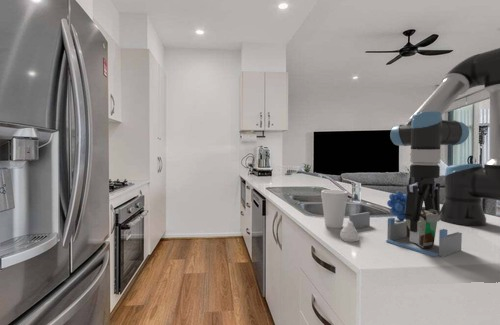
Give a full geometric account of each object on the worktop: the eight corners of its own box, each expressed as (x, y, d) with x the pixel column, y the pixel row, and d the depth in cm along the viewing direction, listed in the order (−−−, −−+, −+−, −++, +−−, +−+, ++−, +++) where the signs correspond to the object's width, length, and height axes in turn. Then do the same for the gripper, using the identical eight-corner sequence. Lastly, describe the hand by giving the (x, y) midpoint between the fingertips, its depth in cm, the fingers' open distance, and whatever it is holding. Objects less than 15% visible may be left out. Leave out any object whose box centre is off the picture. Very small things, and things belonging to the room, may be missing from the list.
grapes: (382, 219, 114) (382, 190, 114) (389, 217, 119) (390, 189, 118) (412, 225, 105) (413, 194, 105) (419, 222, 109) (420, 192, 109)
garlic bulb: (362, 222, 86) (346, 223, 85) (361, 241, 86) (346, 243, 85) (351, 218, 91) (337, 219, 90) (351, 236, 91) (336, 237, 90)
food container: (449, 250, 77) (450, 215, 76) (426, 250, 77) (427, 215, 77) (423, 235, 89) (424, 204, 89) (404, 235, 90) (405, 204, 89)
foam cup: (321, 228, 101) (321, 192, 101) (320, 221, 110) (321, 189, 110) (348, 229, 99) (349, 193, 98) (345, 223, 108) (346, 190, 107)
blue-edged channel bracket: (367, 225, 106) (367, 206, 105) (461, 250, 79) (462, 226, 78) (345, 229, 100) (345, 209, 99) (438, 258, 73) (439, 231, 72)
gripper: (429, 163, 90) (427, 232, 91) (392, 164, 81) (390, 242, 81) (455, 164, 84) (453, 239, 85) (418, 165, 74) (415, 249, 75)
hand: (422, 240), depth 83 cm, fingers closed on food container, 7 cm apart
